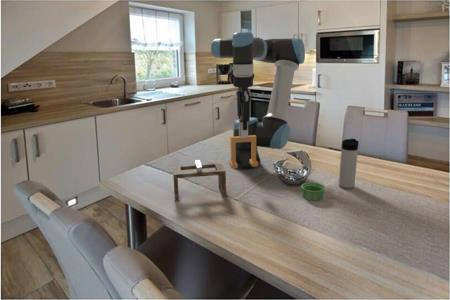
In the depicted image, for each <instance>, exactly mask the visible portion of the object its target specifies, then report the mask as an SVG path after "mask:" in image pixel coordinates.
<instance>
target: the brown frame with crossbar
mask: <svg viewBox="0 0 450 300" xmlns="http://www.w3.org/2000/svg"><path fill="white" fill-rule="evenodd" d="M201 165H202V172H197V171H190V170H196V166H195V164H184V165H183V164H182V165H173V166H172V173H173V174H172V175H173V176H172V177H173V189H174V190H173V193H174V202H180V195H179V180H178V179H185V178H196V177H197V178H198V177H210V176H218V177H217V179H218V183H217V184H218V189H219V192H220V195H221V197H222V198H227V174H226V172H227V170H226V169H225V166H224V164H223V162H214V163H213V162H210V163H201ZM205 169H214V170H205ZM188 170H189V171H190V172H189V171H188ZM182 171H187V172H182Z"/></svg>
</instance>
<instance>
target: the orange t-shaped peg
mask: <svg viewBox="0 0 450 300" xmlns="http://www.w3.org/2000/svg"><path fill="white" fill-rule="evenodd" d="M240 120H241V116H240ZM238 142H251V159H249V163H250V164H251V166H252V167H256V166H258V162H257V161H256V136H255V135H251V136H248V138H241V122H240V136H236V137H234V136H230V160H231V161H230V160H228V162H229V164H228V165H229V166H230V168H231V169H237V168H238V164H237V163H236V146H235V143H238Z"/></svg>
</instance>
